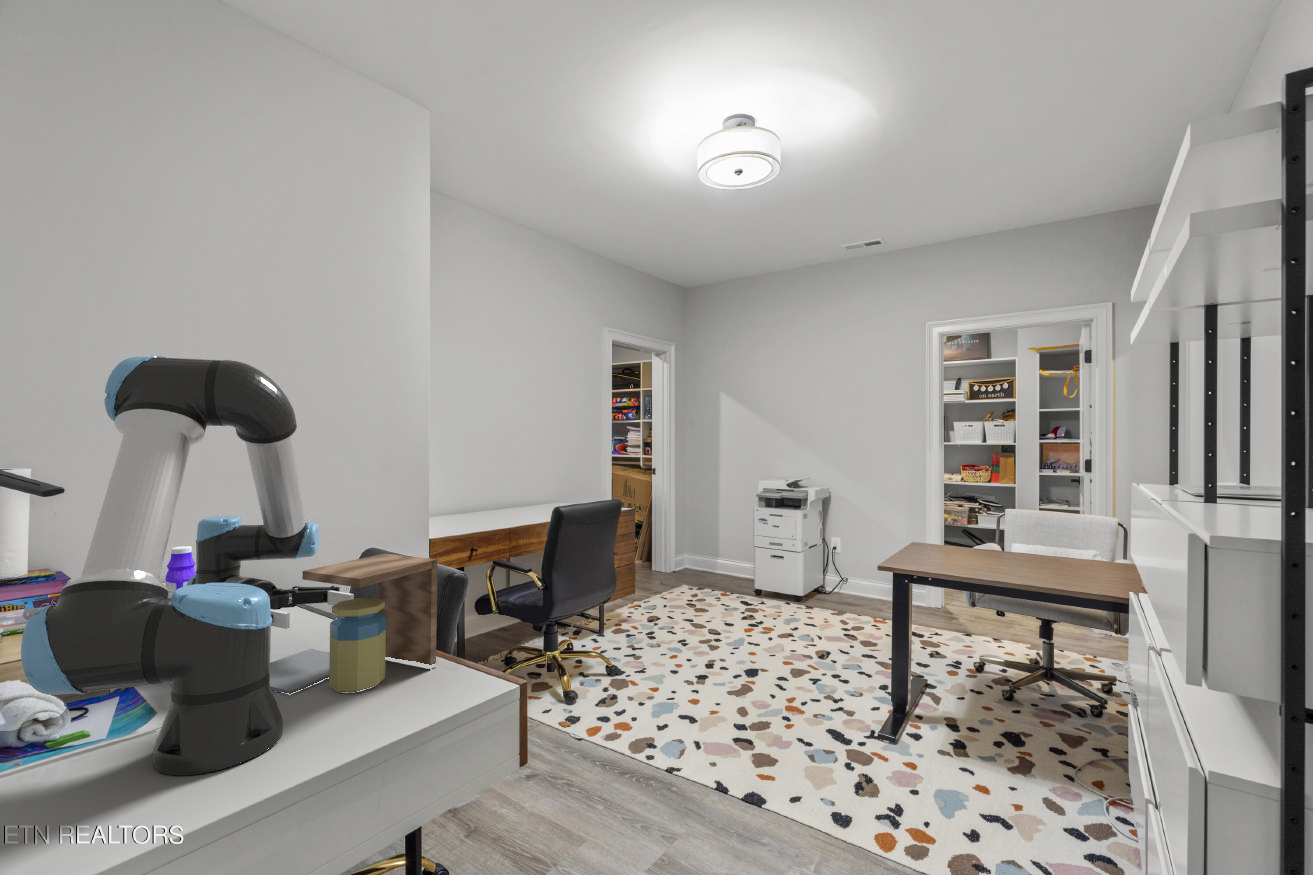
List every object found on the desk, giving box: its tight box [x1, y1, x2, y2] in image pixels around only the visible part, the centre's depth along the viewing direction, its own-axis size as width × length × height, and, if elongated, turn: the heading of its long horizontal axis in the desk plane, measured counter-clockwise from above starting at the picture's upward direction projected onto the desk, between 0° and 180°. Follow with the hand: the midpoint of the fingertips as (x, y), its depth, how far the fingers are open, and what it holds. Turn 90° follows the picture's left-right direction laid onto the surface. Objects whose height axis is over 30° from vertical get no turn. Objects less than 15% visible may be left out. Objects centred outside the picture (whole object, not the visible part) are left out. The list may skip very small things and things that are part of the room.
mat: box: [270, 648, 330, 694], centre depth 113 cm, size 16×16×1 cm
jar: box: [328, 597, 386, 693], centre depth 107 cm, size 9×9×15 cm
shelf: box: [301, 553, 439, 665], centre depth 110 cm, size 14×18×22 cm
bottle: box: [165, 545, 196, 598], centre depth 147 cm, size 7×6×17 cm
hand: (321, 610), depth 112 cm, fingers open, 13 cm apart
